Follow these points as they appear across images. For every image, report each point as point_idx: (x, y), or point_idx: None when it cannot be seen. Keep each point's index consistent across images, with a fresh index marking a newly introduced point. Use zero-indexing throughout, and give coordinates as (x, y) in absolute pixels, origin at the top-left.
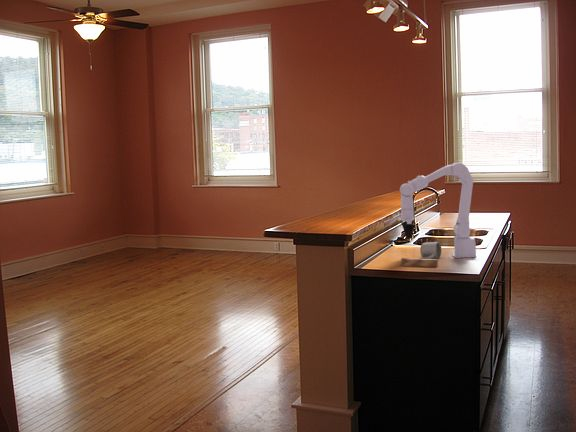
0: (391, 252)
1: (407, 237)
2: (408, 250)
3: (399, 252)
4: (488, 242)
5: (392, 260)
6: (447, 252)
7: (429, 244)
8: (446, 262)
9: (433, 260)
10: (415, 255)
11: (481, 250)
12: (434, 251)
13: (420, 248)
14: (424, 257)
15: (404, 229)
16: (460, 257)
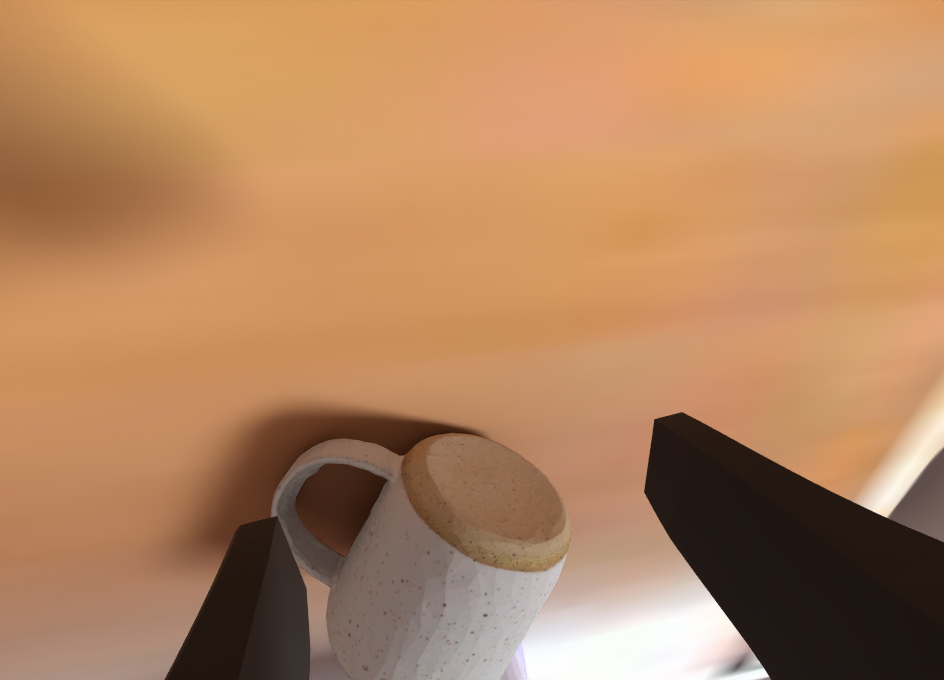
0: (929, 16)
1: (233, 567)
2: (932, 236)
3: (872, 136)
4: None
5: (191, 27)
6: (673, 547)
7: (411, 639)
8: (132, 650)
9: None
10: (603, 338)
11: (673, 676)
12: (327, 615)
13: (435, 497)
14: (279, 485)
15: (816, 557)
16: None
